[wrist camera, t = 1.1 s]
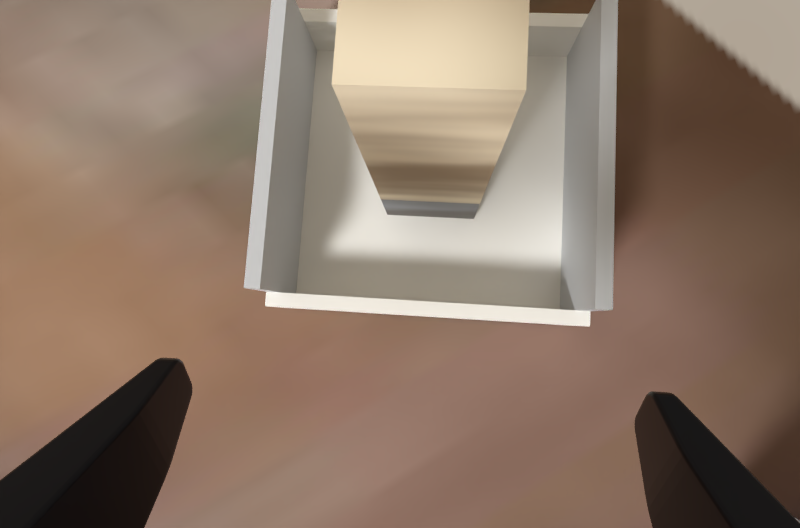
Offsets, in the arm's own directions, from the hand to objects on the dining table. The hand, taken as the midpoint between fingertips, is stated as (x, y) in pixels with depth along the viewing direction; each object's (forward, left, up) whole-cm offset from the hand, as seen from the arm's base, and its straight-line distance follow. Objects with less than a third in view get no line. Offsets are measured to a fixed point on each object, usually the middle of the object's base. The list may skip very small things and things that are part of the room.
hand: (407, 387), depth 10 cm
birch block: (+7, -4, -13) cm, 15 cm away
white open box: (+7, -4, -13) cm, 16 cm away
